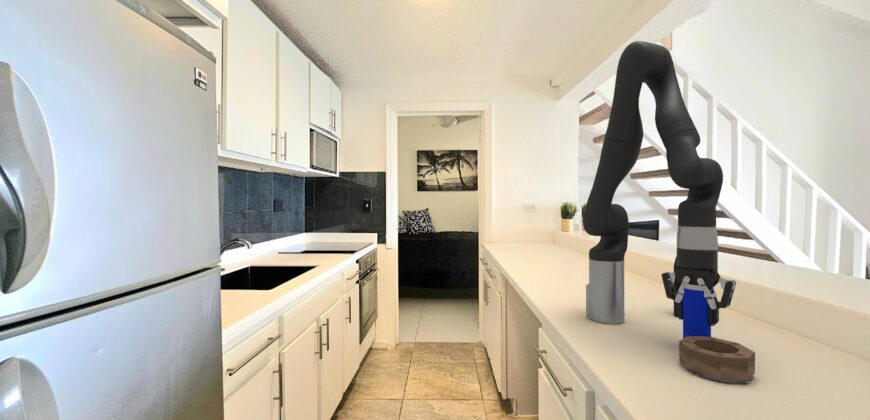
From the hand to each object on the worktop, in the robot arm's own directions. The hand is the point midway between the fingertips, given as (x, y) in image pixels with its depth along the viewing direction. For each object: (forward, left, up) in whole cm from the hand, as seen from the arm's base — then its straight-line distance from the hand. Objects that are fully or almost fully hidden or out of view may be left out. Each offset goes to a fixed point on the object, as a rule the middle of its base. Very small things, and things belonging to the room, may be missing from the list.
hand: (696, 321), depth 82 cm
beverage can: (0, 0, -7) cm, 7 cm away
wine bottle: (-11, +27, -7) cm, 30 cm away
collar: (+6, -9, -6) cm, 13 cm away
